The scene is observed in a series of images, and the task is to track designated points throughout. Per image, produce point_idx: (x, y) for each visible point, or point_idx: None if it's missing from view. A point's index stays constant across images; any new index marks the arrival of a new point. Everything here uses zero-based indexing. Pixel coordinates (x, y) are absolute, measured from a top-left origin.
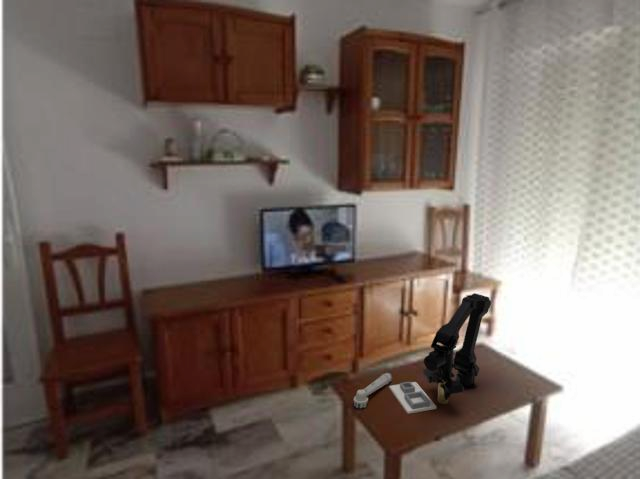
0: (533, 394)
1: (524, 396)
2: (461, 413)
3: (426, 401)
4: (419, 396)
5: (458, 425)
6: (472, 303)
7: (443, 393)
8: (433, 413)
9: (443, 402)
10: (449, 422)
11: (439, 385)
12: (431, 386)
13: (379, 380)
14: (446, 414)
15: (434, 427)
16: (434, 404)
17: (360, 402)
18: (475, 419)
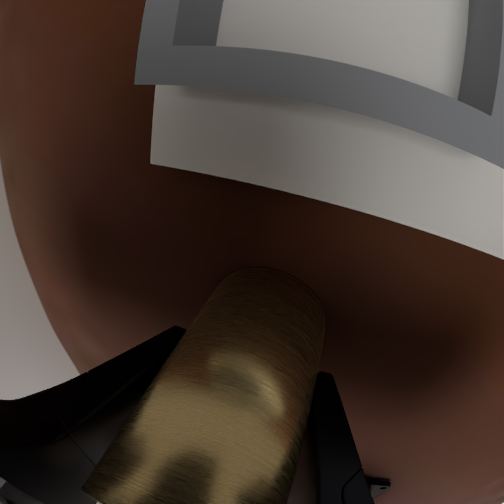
0: None
1: None
2: (84, 298)
3: (162, 20)
4: (462, 94)
5: (5, 190)
6: None
7: (153, 382)
8: (117, 79)
9: (210, 296)
10: (21, 153)
11: (152, 494)
12: (492, 380)
13: None
14: (81, 193)
15: (17, 24)
16: (194, 167)
17: None
18: (45, 310)
